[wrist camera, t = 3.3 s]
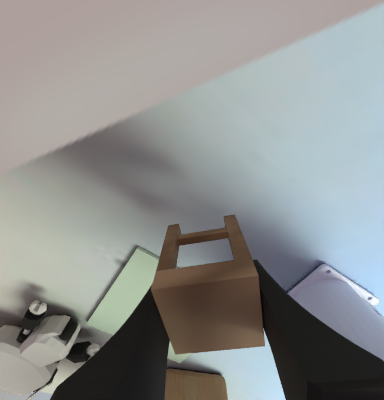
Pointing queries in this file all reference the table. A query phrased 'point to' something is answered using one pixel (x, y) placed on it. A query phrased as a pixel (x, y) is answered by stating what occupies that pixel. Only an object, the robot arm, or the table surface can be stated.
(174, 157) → the table surface
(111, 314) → the sage mat
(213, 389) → the wooden block
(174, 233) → the brown handled box
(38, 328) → the robot toy
